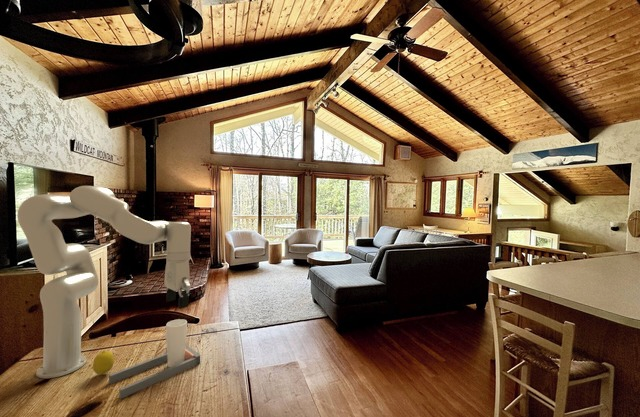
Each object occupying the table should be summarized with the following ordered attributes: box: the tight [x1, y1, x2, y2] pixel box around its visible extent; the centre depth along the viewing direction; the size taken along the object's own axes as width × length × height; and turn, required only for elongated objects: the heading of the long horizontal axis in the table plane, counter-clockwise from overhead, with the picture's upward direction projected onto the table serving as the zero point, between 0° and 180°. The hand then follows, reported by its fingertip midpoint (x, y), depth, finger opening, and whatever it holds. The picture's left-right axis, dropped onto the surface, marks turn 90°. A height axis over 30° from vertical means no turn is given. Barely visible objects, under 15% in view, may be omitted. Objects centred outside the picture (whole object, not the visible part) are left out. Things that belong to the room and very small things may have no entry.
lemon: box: [92, 350, 115, 376], centre depth 91 cm, size 6×6×8 cm
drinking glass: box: [165, 318, 188, 368], centre depth 98 cm, size 7×7×15 cm
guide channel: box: [108, 344, 201, 399], centre depth 93 cm, size 11×24×3 cm, turn 141°
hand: (177, 304), depth 98 cm, fingers open, 9 cm apart
